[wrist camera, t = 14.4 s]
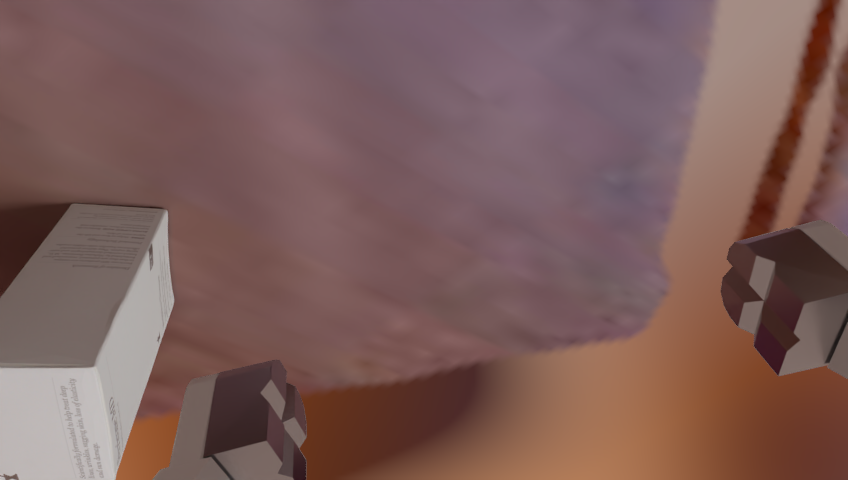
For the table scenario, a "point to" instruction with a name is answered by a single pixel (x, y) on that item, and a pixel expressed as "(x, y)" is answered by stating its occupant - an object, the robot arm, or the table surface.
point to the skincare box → (82, 342)
